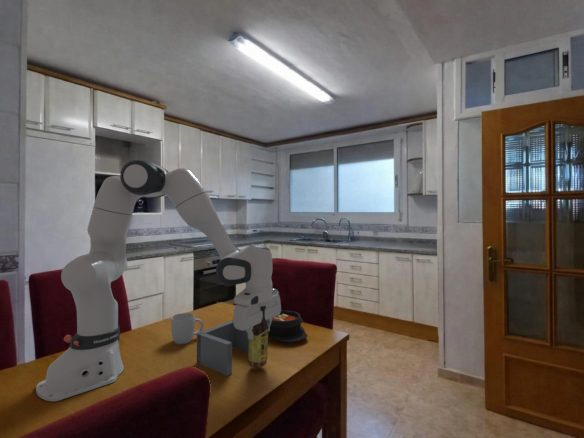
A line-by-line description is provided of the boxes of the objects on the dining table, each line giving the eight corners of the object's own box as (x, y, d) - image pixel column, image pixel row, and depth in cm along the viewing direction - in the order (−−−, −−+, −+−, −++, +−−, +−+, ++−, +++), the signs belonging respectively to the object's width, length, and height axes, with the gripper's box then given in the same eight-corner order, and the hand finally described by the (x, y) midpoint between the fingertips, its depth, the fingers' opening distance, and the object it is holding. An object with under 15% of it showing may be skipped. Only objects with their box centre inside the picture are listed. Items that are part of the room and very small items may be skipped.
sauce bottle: (263, 369, 99) (265, 308, 98) (245, 367, 100) (247, 306, 99) (269, 360, 105) (271, 302, 104) (252, 357, 106) (253, 300, 106)
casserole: (318, 340, 126) (318, 319, 126) (279, 351, 116) (279, 328, 116) (285, 322, 147) (285, 304, 147) (250, 330, 137) (250, 311, 137)
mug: (173, 347, 118) (173, 321, 118) (169, 339, 126) (169, 315, 126) (206, 340, 125) (206, 316, 125) (200, 333, 133) (200, 310, 132)
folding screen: (227, 375, 98) (227, 344, 98) (196, 362, 107) (196, 333, 106) (263, 354, 113) (264, 327, 113) (234, 344, 121) (234, 319, 121)
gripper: (271, 286, 112) (271, 324, 113) (230, 298, 96) (230, 343, 96) (285, 288, 109) (285, 327, 109) (245, 302, 92) (245, 348, 92)
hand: (259, 335), depth 102 cm, fingers closed on sauce bottle, 6 cm apart
